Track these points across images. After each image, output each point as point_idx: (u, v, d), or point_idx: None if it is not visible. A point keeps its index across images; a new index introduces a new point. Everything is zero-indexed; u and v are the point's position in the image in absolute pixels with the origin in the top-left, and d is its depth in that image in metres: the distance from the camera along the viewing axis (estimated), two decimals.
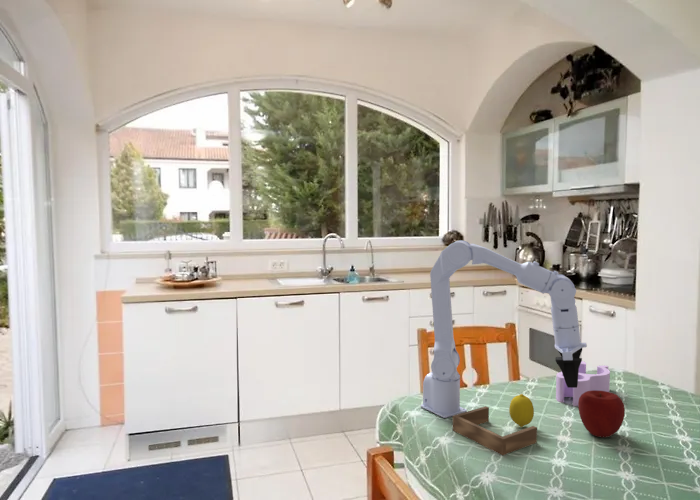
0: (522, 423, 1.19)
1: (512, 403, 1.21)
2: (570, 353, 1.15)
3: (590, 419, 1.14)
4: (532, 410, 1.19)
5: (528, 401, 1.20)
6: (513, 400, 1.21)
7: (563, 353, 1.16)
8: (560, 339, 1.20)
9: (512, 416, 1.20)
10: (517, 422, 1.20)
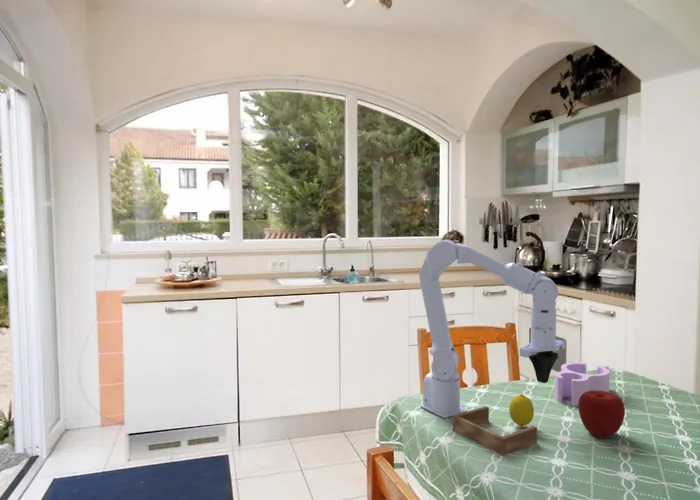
0: (522, 423, 1.19)
1: (512, 403, 1.21)
2: (525, 351, 1.20)
3: (590, 419, 1.14)
4: (532, 410, 1.19)
5: (528, 401, 1.20)
6: (513, 400, 1.21)
7: (520, 349, 1.21)
8: (531, 337, 1.24)
9: (512, 416, 1.20)
10: (517, 422, 1.20)
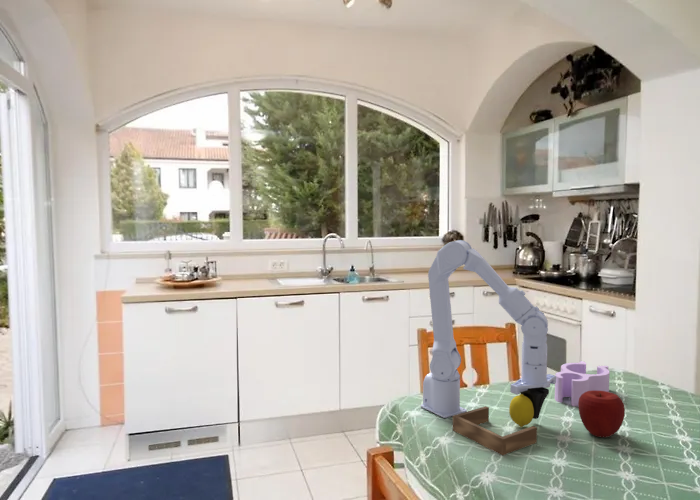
0: (522, 423, 1.19)
1: (512, 403, 1.21)
2: (516, 387, 1.19)
3: (590, 419, 1.14)
4: (532, 410, 1.19)
5: (528, 401, 1.19)
6: (513, 400, 1.21)
7: (511, 386, 1.20)
8: (522, 372, 1.23)
9: (512, 416, 1.20)
10: (517, 422, 1.20)
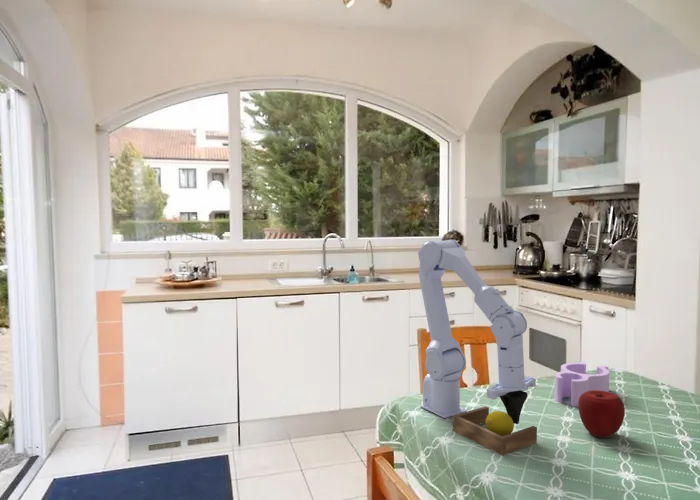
0: None
1: None
2: (492, 392, 1.13)
3: (590, 419, 1.14)
4: (508, 424, 1.14)
5: (499, 424, 1.13)
6: (487, 428, 1.15)
7: (487, 390, 1.14)
8: (499, 376, 1.17)
9: None
10: None
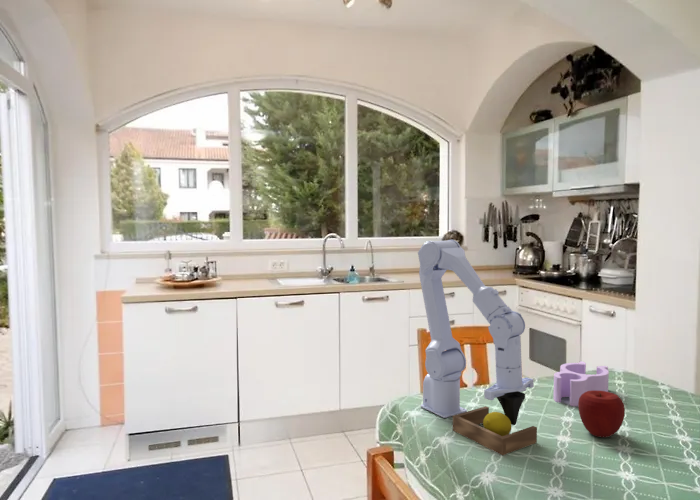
0: None
1: None
2: (489, 393, 1.13)
3: (590, 419, 1.14)
4: (506, 425, 1.13)
5: (497, 425, 1.13)
6: None
7: (484, 391, 1.14)
8: (497, 377, 1.17)
9: None
10: None
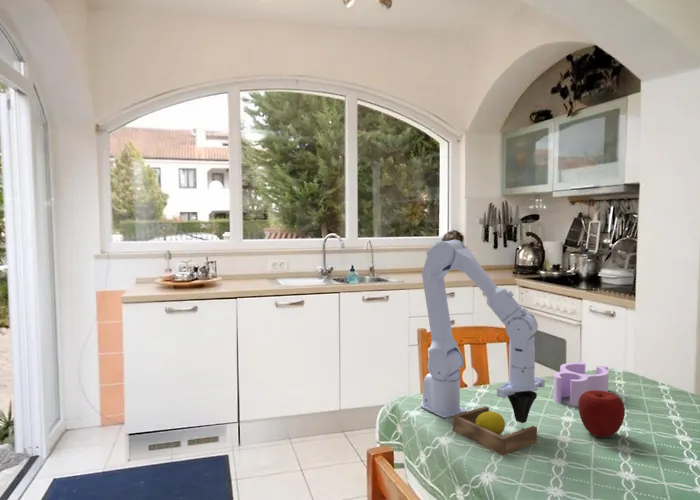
0: (503, 430, 1.16)
1: None
2: (502, 391, 1.16)
3: (590, 419, 1.14)
4: (495, 421, 1.14)
5: (486, 424, 1.14)
6: None
7: (497, 389, 1.17)
8: (509, 376, 1.20)
9: None
10: None
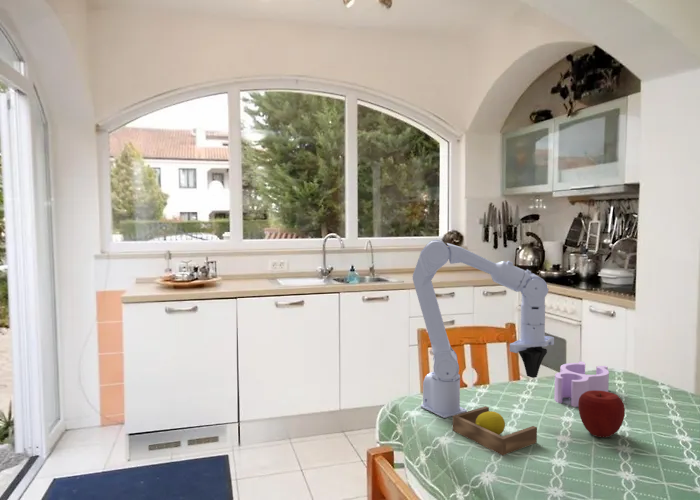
0: (503, 430, 1.16)
1: None
2: (515, 346, 1.23)
3: (590, 419, 1.14)
4: (495, 421, 1.14)
5: (486, 424, 1.14)
6: None
7: (510, 345, 1.24)
8: (521, 333, 1.27)
9: None
10: None
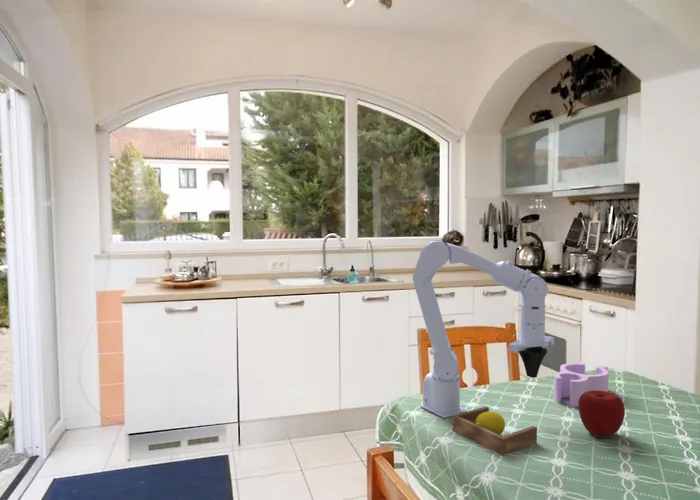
0: (503, 430, 1.16)
1: None
2: (515, 346, 1.23)
3: (590, 419, 1.14)
4: (495, 421, 1.14)
5: (486, 424, 1.14)
6: None
7: (510, 345, 1.24)
8: (521, 333, 1.27)
9: None
10: None
